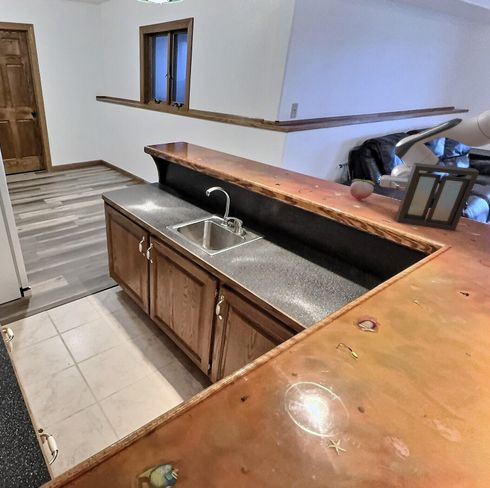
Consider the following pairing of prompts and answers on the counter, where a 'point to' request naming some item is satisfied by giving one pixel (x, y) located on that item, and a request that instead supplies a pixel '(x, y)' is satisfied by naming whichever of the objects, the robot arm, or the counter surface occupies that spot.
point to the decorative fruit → (361, 188)
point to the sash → (422, 195)
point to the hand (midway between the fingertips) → (410, 188)
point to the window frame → (441, 196)
